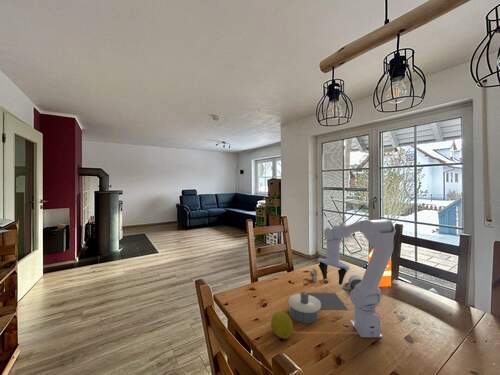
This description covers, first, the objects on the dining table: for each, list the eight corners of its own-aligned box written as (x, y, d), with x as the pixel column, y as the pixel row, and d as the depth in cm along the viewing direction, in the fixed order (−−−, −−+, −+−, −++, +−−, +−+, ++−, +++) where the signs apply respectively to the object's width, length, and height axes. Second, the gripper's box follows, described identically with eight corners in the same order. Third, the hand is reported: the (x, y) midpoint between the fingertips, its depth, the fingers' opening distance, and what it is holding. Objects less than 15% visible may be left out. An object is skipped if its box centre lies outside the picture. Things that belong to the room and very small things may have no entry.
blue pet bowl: (321, 324, 89) (321, 312, 89) (292, 324, 89) (292, 311, 89) (313, 307, 101) (313, 297, 101) (287, 307, 101) (287, 296, 101)
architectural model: (311, 283, 126) (311, 270, 126) (307, 278, 133) (307, 266, 133) (317, 283, 126) (317, 270, 126) (312, 278, 133) (313, 266, 133)
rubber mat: (347, 311, 98) (347, 309, 98) (314, 310, 99) (314, 309, 99) (335, 294, 113) (335, 292, 113) (305, 293, 114) (305, 292, 114)
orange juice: (367, 280, 129) (367, 246, 129) (381, 280, 130) (382, 246, 130) (376, 287, 121) (376, 250, 121) (391, 286, 122) (391, 250, 122)
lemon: (295, 345, 78) (295, 322, 78) (273, 345, 78) (273, 322, 78) (289, 325, 89) (289, 305, 88) (270, 325, 89) (270, 305, 88)
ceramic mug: (362, 287, 120) (362, 273, 120) (366, 295, 112) (365, 280, 112) (341, 285, 123) (341, 272, 123) (343, 292, 115) (343, 278, 115)
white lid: (325, 312, 89) (325, 302, 88) (291, 312, 89) (291, 302, 88) (315, 295, 102) (315, 286, 102) (285, 295, 102) (286, 286, 102)
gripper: (352, 254, 102) (351, 283, 102) (322, 247, 112) (322, 274, 113) (345, 258, 97) (345, 288, 97) (315, 250, 107) (315, 278, 108)
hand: (332, 281), depth 105 cm, fingers open, 7 cm apart
